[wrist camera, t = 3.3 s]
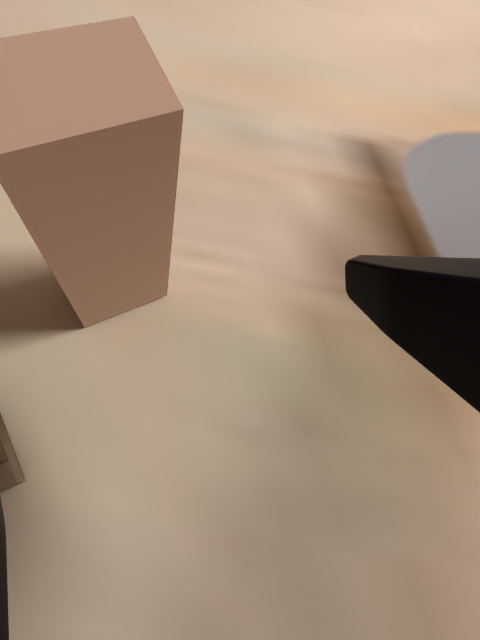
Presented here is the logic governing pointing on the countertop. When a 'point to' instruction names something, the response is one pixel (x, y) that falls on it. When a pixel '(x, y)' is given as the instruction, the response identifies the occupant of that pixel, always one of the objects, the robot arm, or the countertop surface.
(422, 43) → the countertop surface
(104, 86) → the clay block
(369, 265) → the robot arm
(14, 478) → the compartment tray
